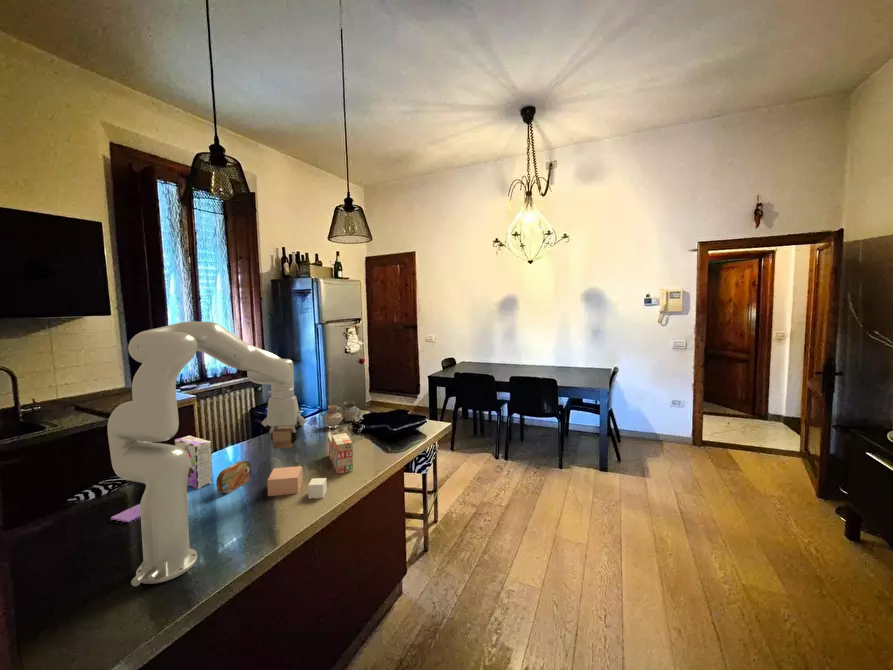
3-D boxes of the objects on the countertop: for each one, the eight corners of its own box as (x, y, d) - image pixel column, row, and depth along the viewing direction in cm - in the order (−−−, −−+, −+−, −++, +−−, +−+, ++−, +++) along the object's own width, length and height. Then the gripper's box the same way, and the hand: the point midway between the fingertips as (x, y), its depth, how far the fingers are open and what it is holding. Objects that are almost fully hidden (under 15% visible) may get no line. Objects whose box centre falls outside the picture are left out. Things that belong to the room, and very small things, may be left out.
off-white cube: (323, 498, 133) (322, 484, 133) (308, 498, 133) (308, 484, 133) (326, 491, 138) (326, 478, 138) (312, 492, 138) (312, 478, 138)
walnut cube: (290, 448, 137) (289, 431, 136) (273, 448, 137) (272, 431, 136) (295, 442, 143) (295, 426, 142) (279, 442, 142) (278, 426, 142)
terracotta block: (298, 493, 137) (297, 477, 137) (267, 496, 135) (267, 480, 134) (302, 481, 147) (302, 466, 146) (274, 483, 145) (273, 468, 144)
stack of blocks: (328, 455, 172) (327, 428, 171) (342, 453, 174) (341, 426, 173) (337, 474, 152) (336, 444, 152) (353, 471, 155) (352, 441, 154)
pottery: (319, 429, 209) (318, 407, 208) (347, 417, 232) (347, 397, 231) (336, 431, 205) (335, 409, 204) (363, 419, 228) (363, 399, 227)
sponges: (167, 505, 129) (167, 500, 129) (127, 526, 117) (127, 520, 117) (151, 502, 131) (151, 497, 131) (110, 522, 119) (110, 516, 119)
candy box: (175, 481, 146) (173, 439, 145) (192, 475, 151) (190, 434, 150) (197, 489, 140) (195, 445, 138) (213, 483, 145) (211, 440, 144)
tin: (222, 497, 134) (221, 474, 133) (215, 496, 134) (213, 473, 134) (252, 478, 149) (251, 457, 148) (245, 478, 149) (244, 456, 149)
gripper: (253, 396, 134) (255, 447, 135) (304, 395, 135) (305, 445, 136) (262, 391, 141) (264, 439, 143) (310, 390, 143) (311, 438, 144)
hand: (284, 442), depth 140 cm, fingers closed on walnut cube, 6 cm apart
